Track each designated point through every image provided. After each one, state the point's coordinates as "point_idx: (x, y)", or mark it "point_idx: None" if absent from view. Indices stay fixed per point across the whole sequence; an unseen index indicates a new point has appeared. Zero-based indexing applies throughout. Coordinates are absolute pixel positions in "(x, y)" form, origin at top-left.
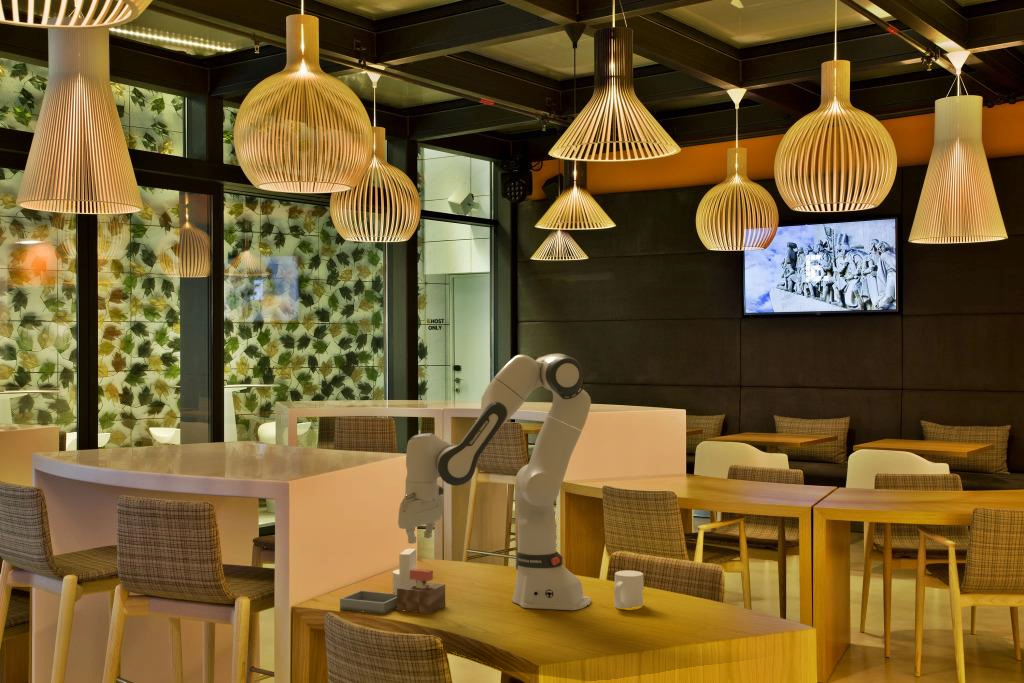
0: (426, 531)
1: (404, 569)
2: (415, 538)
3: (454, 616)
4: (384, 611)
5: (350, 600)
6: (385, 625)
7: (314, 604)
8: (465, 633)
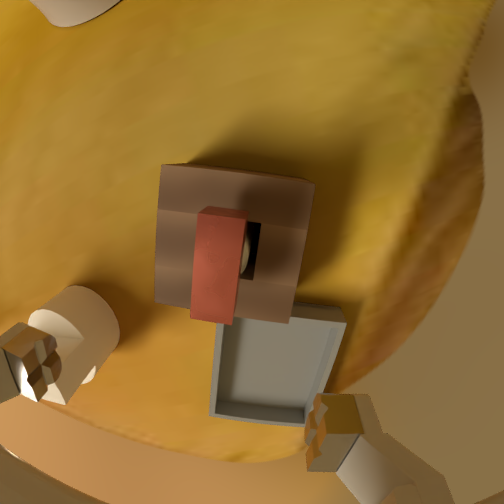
0: (19, 385)
1: (83, 360)
2: (342, 421)
3: (315, 90)
4: (337, 310)
5: None
6: (441, 260)
7: (272, 451)
8: (457, 44)
